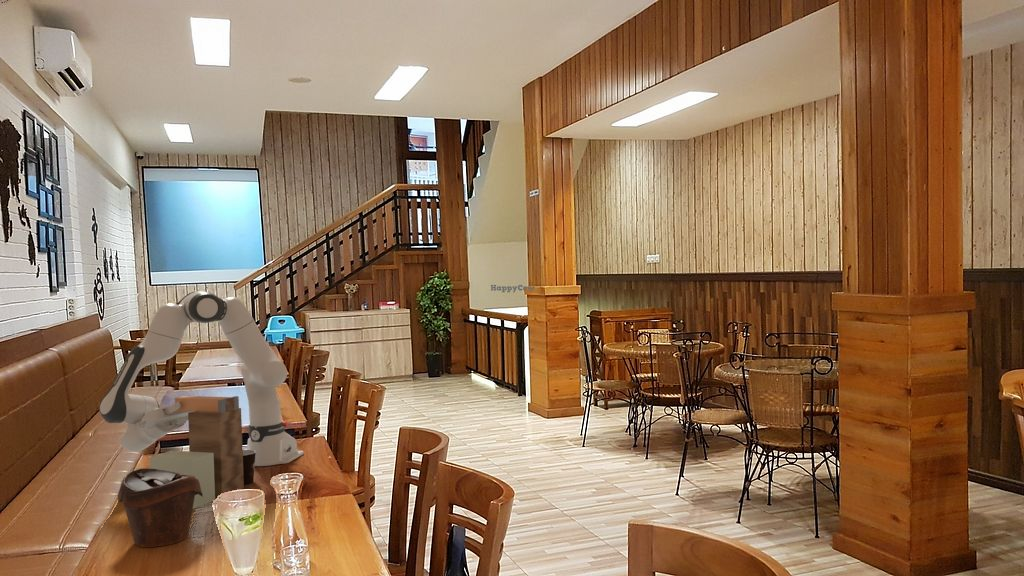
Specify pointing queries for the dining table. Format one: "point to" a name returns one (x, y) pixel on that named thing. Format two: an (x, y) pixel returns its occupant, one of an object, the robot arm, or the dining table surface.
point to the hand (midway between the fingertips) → (188, 401)
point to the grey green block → (190, 470)
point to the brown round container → (158, 505)
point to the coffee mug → (248, 466)
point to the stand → (219, 445)
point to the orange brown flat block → (208, 403)
